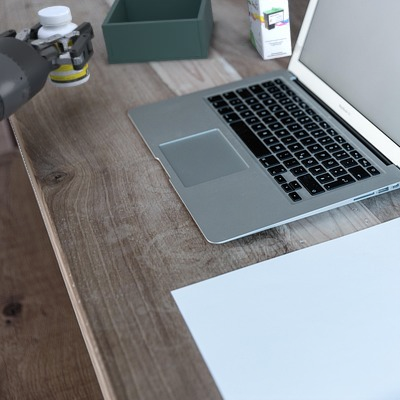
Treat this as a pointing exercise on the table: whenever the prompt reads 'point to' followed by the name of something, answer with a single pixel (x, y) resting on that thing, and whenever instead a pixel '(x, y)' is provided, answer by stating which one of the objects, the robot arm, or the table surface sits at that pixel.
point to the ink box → (270, 27)
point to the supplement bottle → (57, 24)
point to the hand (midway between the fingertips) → (68, 27)
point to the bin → (158, 30)
